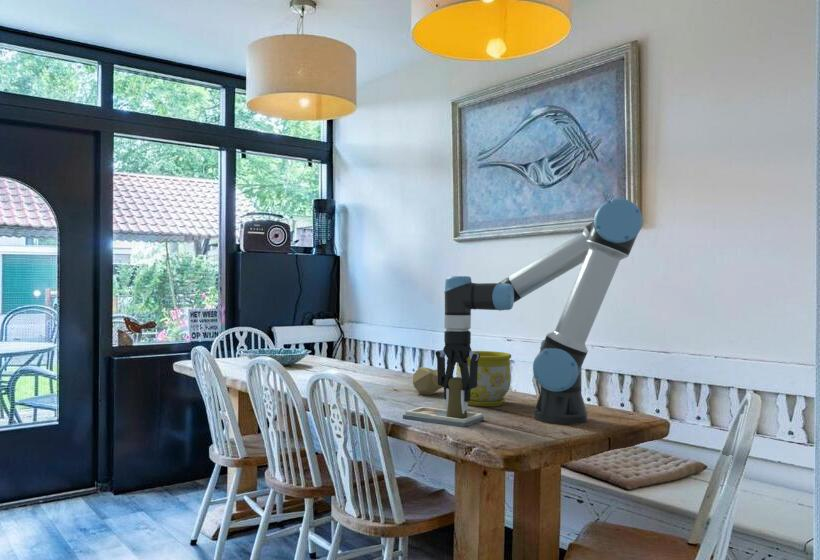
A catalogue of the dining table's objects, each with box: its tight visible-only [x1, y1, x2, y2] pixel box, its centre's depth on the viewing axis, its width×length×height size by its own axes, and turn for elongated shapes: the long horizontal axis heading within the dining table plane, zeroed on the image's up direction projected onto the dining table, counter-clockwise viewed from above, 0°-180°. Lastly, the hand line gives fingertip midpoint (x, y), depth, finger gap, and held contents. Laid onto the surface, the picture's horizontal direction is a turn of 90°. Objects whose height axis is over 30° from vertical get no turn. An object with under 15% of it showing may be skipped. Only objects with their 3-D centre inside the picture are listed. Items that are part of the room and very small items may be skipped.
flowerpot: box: [456, 350, 512, 408], centre depth 212 cm, size 18×18×16 cm
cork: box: [446, 376, 467, 418], centre depth 183 cm, size 6×6×11 cm
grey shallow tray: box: [402, 406, 484, 428], centre depth 185 cm, size 20×12×2 cm, turn 57°
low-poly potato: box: [412, 366, 443, 396], centre depth 229 cm, size 15×11×12 cm
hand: (456, 411), depth 183 cm, fingers closed on cork, 4 cm apart
